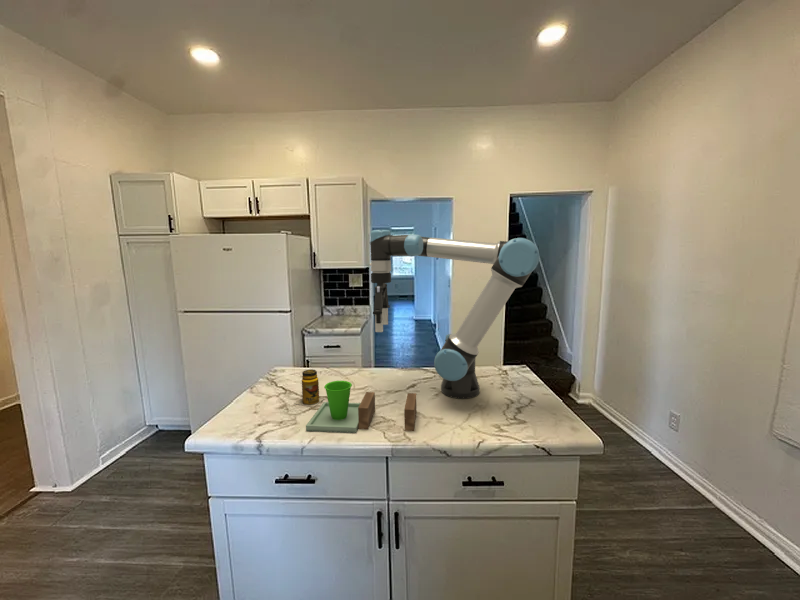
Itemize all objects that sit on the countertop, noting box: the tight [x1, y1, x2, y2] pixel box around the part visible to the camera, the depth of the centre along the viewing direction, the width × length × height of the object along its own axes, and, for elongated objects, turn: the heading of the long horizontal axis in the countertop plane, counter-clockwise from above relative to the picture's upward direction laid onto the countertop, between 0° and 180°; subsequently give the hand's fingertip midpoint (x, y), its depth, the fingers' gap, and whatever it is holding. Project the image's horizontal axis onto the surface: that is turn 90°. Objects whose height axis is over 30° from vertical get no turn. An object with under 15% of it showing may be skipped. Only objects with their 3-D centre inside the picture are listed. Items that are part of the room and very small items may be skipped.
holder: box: [358, 391, 418, 432], centre depth 117 cm, size 18×13×7 cm
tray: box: [305, 401, 361, 434], centre depth 119 cm, size 16×18×2 cm
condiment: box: [294, 368, 324, 408], centre depth 132 cm, size 7×8×12 cm
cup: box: [324, 380, 353, 420], centre depth 118 cm, size 9×9×11 cm
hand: (382, 328), depth 135 cm, fingers open, 13 cm apart
